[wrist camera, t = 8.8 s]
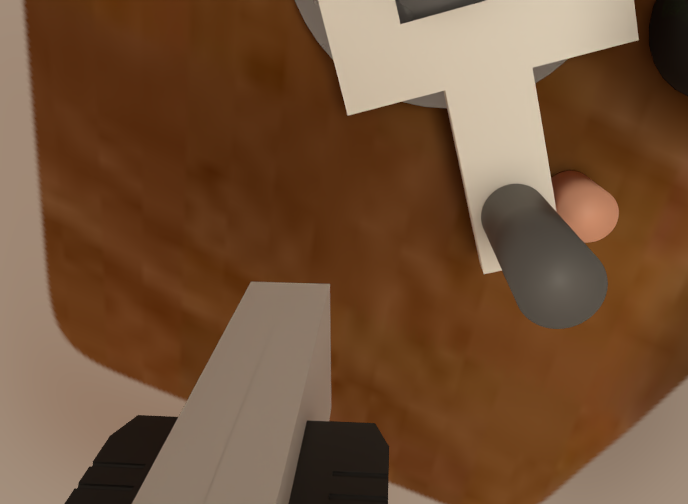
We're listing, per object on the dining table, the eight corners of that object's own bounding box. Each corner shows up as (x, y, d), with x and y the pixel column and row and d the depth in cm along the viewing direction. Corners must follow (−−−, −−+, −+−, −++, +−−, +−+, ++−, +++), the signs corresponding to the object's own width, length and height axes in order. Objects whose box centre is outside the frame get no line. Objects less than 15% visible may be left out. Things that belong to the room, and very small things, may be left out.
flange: (272, -191, 21) (203, -316, 14) (585, -296, 20) (708, -505, 12) (393, 282, 26) (393, 388, 19) (649, 226, 25) (766, 316, 17)
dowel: (532, 194, 26) (549, 214, 23) (572, 160, 25) (594, 176, 23) (564, 229, 26) (584, 253, 24) (604, 195, 26) (630, 216, 23)
